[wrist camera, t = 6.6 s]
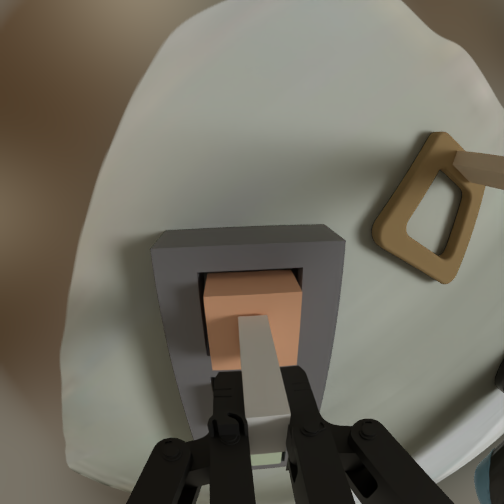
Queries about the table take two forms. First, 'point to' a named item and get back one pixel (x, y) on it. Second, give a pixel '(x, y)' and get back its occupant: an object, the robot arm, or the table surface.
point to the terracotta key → (252, 313)
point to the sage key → (266, 459)
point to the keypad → (244, 260)
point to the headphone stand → (413, 190)
